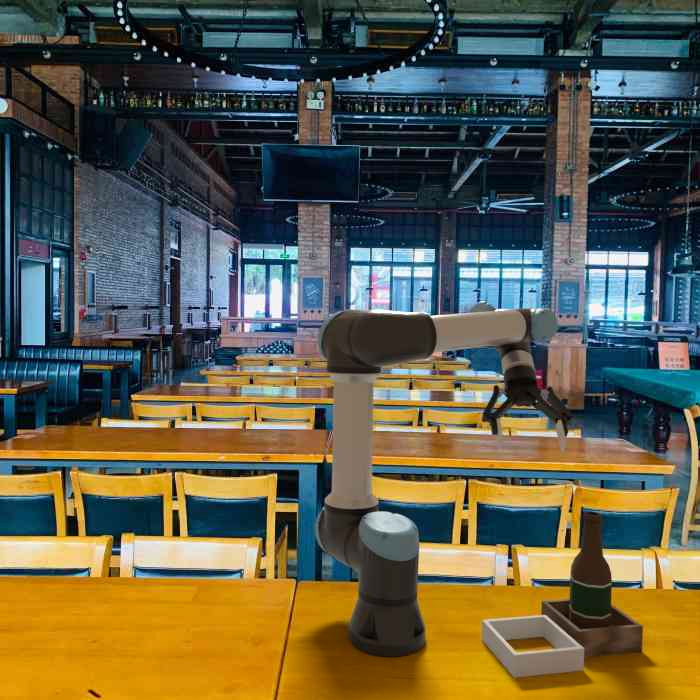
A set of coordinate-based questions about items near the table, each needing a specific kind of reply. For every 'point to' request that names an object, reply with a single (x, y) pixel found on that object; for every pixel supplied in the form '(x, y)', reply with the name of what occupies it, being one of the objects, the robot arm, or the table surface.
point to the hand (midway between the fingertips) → (532, 446)
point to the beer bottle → (590, 579)
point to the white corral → (532, 662)
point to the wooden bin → (598, 631)
